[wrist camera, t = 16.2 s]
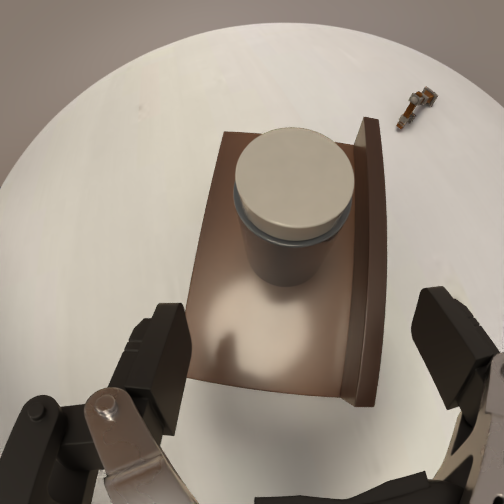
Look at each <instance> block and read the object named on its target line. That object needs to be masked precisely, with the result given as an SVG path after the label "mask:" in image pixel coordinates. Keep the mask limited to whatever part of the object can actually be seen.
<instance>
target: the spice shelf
mask: <svg viewBox="0 0 504 504" xmlns="http://www.w3.org/2000/svg"><path fill="white" fill-rule="evenodd" d="M260 135H262V134H258V133H244V132H226V131H225V132H224V133H223V137H222V141H221V145H220V149H219V153H218V157H217V162H216V166H215V170H214V174H213V178H212V183H211V187H210V191H209V196H208V200H207V205H206V209H205V214H204V218H203V223H202V228H201V232H200V237H199V242H198V247H197V252H196V257H195V262H194V267H193V272H192V278H191V283H190V288H189V294H188V299H187V305H186V310H185V315H186V319H187V323H188V327H189V332H190V336H191V340H192V355H191V360H190V365H189V369H188V373H187V378H191V379H196V380H201V381H206V382H211V383H217V384H222V385H228V386H234V387H241V388H247V389H254V390H262V391H270V392H278V393H287V394H297V395H308V396H321V397H337V398H342V399H343V400H345V401H346V402H348V403H349V404H351V405H353V406H354V407H374V405H375V399H376V393H377V386H378V379H379V371H380V363H381V354H382V344H383V333H384V320H385V305H386V283H387V215H386V193H385V177H384V165H383V154H382V144H381V135H380V127H379V120H378V119H374V118H369V117H363V120H362V123H361V126H360V129H359V132H358V135H357V137H356V140H355V143H354V145H350V144H344V143H337V142H335V143H336V144H337V145H338V146H339V147H340V148H341V149H342V150H343V151H344V153H345V154H346V156H347V157H348V159H349V161H350V163H351V166H352V169H353V173H354V190H353V194H352V206H351V210H350V213H349V216H348V218H347V220H346V222H345V224H344V226H343V227H342V229H341V231H340V233H339V235H338V236H337V238H336V240H335V242H334V244H333V245H332V247H331V249H330V251H329V252H328V254H327V256H326V258H325V259H324V261H323V263H322V265H321V266H320V268H319V270H318V271H317V272H316V274H315V275H314V276H313V277H312V278H311V279H309V280H308V281H306V282H304V283H303V284H300V285H297V286H293V287H279V286H274V285H271V284H269V283H267V282H265V281H264V280H262V279H261V278H260V277H258V276H257V275H256V274H255V272H254V271H253V270H252V268H251V266H250V264H249V262H248V259H247V255H246V251H245V246H244V242H243V238H242V234H241V230H240V226H239V221H238V217H237V213H236V209H235V204H234V199H233V188H234V182H235V171H236V165H237V162H238V159H239V157H240V155H241V153H242V152H243V150H244V149H245V148H246V147H247V145H248V144H249V143H250V142H252V141H253V140H254V139H255V138H257V137H258V136H260Z"/></svg>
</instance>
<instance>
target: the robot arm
mask: <svg viewBox="0 0 504 504" xmlns="http://www.w3.org/2000/svg"><path fill="white" fill-rule="evenodd" d="M411 333H412V338H413V341H414V343H415V345H416V347H417V348H418V350H419V352H420V354H421V356H422V358H423V360H424V362H425V364H426V366H427V368H428V370H429V372H430V374H431V377H432V379H433V381H434V383H435V385H436V387H437V389H438V391H439V393H440V396H441V398H442V400H443V402H444V404H445V407H446V409H447V410H449V409H452V408H456V407H460V409H461V412H460V413H459V415H458V417H457V421H456V424H455V428H454V431H453V435H452V438H451V441H450V444H449V447H448V450H447V453H446V456H445V459H444V461H443V463H442V465H441V467H440V468H439V470H438V471H437V473H436V475H435V476H434V478H433V479H427V476H426V472H425V471H423V472H419V473H416V474H413V475H409V476H406V477H402V478H398V479H394V480H390V481H387V482H385V483H383V484H381V485H379V486H377V487H375V488H373V489H370V490H368V491H366V492H364V493H361V494H359V495H357V496H354V497H352V498H349V499H330V498H319V497H309V496H301V495H297V496H282V497H255V499H254V504H504V352H502V353H500V352H499V350H498V349H497V347H496V346H495V344H494V343H493V342H492V340H491V339H490V337H489V336H488V335H487V333H486V332H485V331H484V329H483V328H482V326H479V322H478V321H477V320H476V319H475V318H473V315H472V313H471V312H470V311H469V309H468V308H467V307H466V306H465V305H463V304H462V303H461V302H459V301H458V300H456V299H453V297H452V296H451V295H450V294H449V292H448V291H447V290H446V289H445V288H444V287H443V286H438V287H430V288H423V289H422V290H421V292H420V295H419V299H418V303H417V307H416V310H415V314H414V317H413V321H412V326H411ZM124 350H125V351H124V352H123V353H122V356H121V358H120V360H119V362H118V365H117V367H116V369H115V371H114V374H113V376H112V378H111V381H110V383H109V385H108V387H107V388H103V389H101V390H98V391H97V392H95V393H94V394H92V395H91V396H90V397H89V399H88V400H87V402H86V404H82V405H74V406H64V407H60V406H59V405H58V403H57V402H56V401H55V399H53V398H52V397H50V396H47V395H39V396H36V397H34V398H32V399H30V400H29V401H28V402H27V403H26V404H25V405H24V406H23V408H22V410H21V412H20V414H19V416H18V418H17V420H16V423H15V425H14V427H13V429H12V432H11V434H10V436H9V439H8V441H7V443H6V446H5V448H4V451H3V453H2V456H1V458H0V504H91V502H92V497H93V492H94V488H95V483H96V479H97V475H98V471H99V470H103V469H105V471H106V475H107V477H105V478H104V485H105V488H106V490H107V492H108V495H109V497H110V499H111V501H112V503H113V504H199V503H198V501H197V500H196V499H195V498H194V496H193V495H192V494H191V492H190V491H189V489H188V488H187V487H186V485H185V484H184V482H183V481H182V479H181V478H180V476H179V475H178V473H177V472H176V470H175V469H174V467H173V466H172V464H171V463H170V461H169V459H168V458H167V456H166V455H165V453H164V451H163V450H162V448H161V447H160V444H161V440H162V435H169V436H174V435H175V430H176V425H177V420H178V415H179V410H180V406H181V401H182V396H183V392H184V387H185V383H186V378H187V373H188V369H189V365H190V360H191V355H192V340H191V336H190V332H189V327H188V323H187V319H186V315H185V311H184V307H183V305H182V303H159V304H158V305H157V307H156V309H155V312H154V314H153V316H152V318H144V319H143V320H142V321H141V322H140V323H139V324H138V325H137V326H136V327H135V328H134V329H133V331H132V334H131V336H130V338H129V342H127V345H126V347H125V349H124Z"/></svg>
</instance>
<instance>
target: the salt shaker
mask: <svg viewBox="0 0 504 504" xmlns="http://www.w3.org/2000/svg"><path fill="white" fill-rule="evenodd" d="M353 190H354V173H353V169H352V166H351V163H350V161H349V159H348V157H347V156H346V154H345V153H344V151H343V150H342V149H341V148H340V147H339V146H338V145H337V144H336V143H335V142H333V141H332V140H331V139H329V138H328V137H326V136H324V135H322V134H320V133H318V132H315V131H312V130H308V129H304V128H294V127H290V128H280V129H275V130H271V131H269V132H266V133H264V134H262V135H260V136H258V137H257V138H255V139H254V140H253V141H252V142H250V143H249V144H248V145H247V147H246V148H245V149H244V150H243V152H242V153H241V155H240V157H239V159H238V162H237V165H236V171H235V182H234V188H233V199H234V204H235V209H236V213H237V217H238V221H239V226H240V230H241V234H242V238H243V242H244V246H245V251H246V255H247V259H248V262H249V264H250V266H251V268H252V270H253V271H254V272H255V274H256V275H257V276H258V277H260V278H261V279H262V280H264V281H265V282H267V283H269V284H271V285H274V286H279V287H293V286H297V285H300V284H303V283H304V282H306V281H308V280H309V279H311V278H312V277H313V276H314V275H315V274H316V272H317V271H318V270H319V268H320V266H321V265H322V263H323V261H324V259H325V258H326V256H327V254H328V252H329V251H330V249H331V247H332V245H333V244H334V242H335V240H336V238H337V236H338V235H339V233H340V231H341V229H342V227H343V226H344V224H345V222H346V220H347V218H348V216H349V213H350V210H351V206H352V194H353Z"/></svg>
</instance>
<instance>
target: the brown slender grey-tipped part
mask: <svg viewBox="0 0 504 504" xmlns="http://www.w3.org/2000/svg"><path fill="white" fill-rule="evenodd" d="M437 97H438V95H437V94H436V93H435V92H433V91H432V90H431V89H429V88H428V87H427V86H425V88H424V90H423V91H422V93H421V92H419V91H418V92H416V93H412V95H411V97H410V98H409V100H408V101H410V104H409V106H408V107H407V109H406V111H405V112H404V114H403V115H402V116H401V117H400V119H399V120H400V121H399V122H398V124H397V125H396V126H397V127H398V128H400V129H402V128H403V126H404V125H405V124H406V123H407V122H408V123H409V124H410V123H411V121H413V119H414V118H415V116H416V115H415V114H414V113H413V110H414V109H415V107H416V106H417V105H420V104H421V105H423V104H428V105H429V106H430V107H432V105H433V103H434V102H435V100H436V98H437Z"/></svg>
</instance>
